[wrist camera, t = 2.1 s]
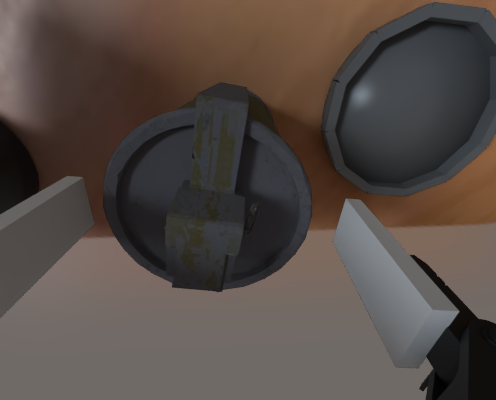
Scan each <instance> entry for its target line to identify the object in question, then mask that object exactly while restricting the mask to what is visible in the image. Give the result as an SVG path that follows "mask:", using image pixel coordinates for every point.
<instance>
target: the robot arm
mask: <svg viewBox="0 0 496 400" xmlns="http://www.w3.org/2000/svg"><path fill="white" fill-rule="evenodd" d="M93 225H94V221H93V216H92V212H91V208H90V204H89V199H88V195H87V191H86V187H85V182H84V178H83V177H75V176H66V177H64V178H63V179H61V180H59V181H57V182H56V183H54V184H52V185H50V186H49V187H47V188H45V189H43V190H42V191H40V192H38V176H37V172H36V169H35V166H34V163H33V161H32V159H31V157H30V155H29V154H28V152H27V150H26V149H25V147H24V146H23V145H22V143H21V142H20V141H19V140H18V138H17V137H16V136H15V135H14V134H13V133H12V132H11V131H10V130H9V129H8V128H7V127H6V126H5V125H3V124H2V123H1V122H0V318H1V317H2V316H3V315H4V314H5V313H6V312H7V311H8V310H9V309H10V308H11V307H12V306H13V305H14V304H15V303H16V302H17V301H18V300H19V299H20V298H21V297H22V296H23V295H24V294H25V293H26V292H27V291H28V290H29V289H30V288H31V287H32V286H33V285H34V284H35V283H36V282H37V281H38V280H39V279H40V278H41V277H42V276H43V275H44V274H45V273H46V272H47V271H48V270H49V269H50V268H51V267H52V266H53V265H54V264H55V263H56V262H57V261H58V260H59V259H60V258H61V257H62V256H63V255H64V254H65V253H66V252H67V251H68V250H69V249H70V248H71V247H72V246H73V245H74V244H75V243H76V242H77V241H78V240H79V239H80V238H81V237H82V236H83V235H84V234H85V233H86V232H87V231H88V230H89V229H90V228H91V227H92V226H93ZM333 244H334V246H335V248H336V250H337V252H338V254H339V256H340V258H341V260H342V262H343V264H344V266H345V268H346V270H347V272H348V274H349V276H350V278H351V280H352V282H353V284H354V286H355V288H356V290H357V292H358V293H359V296H360V298H361V300H362V301H363V304H364V306H365V307H366V309H367V312H368V313H369V316H370V318H371V320H372V322H373V323H374V326H375V328H376V329H377V331H378V334H379V335H380V337H381V339H382V341H383V343H384V345H385V347H386V349H387V351H388V353H389V355H390V357H391V359H392V361H393V363H394V365H395V367H398V368H399V367H400V368H419V367H420V365H421V364H422V363H423V361H424V360H425V358H426V357H427V359H428V360H429V362H430V363H431V365H432V366H433V368H434V369H433V370H432V371H431V373H430V374H429V375H428V377H427V378H426V379H425V380H424V382H423V383H422V384H421V386H420V390H422V391H424V390H425V388H426V387H428V388H427V395H426V400H496V324H495V323H492V322H490V321H487V320H482V319H478V318H477V317H476V316H475V315H474V314H473V313H472V312H471V311H470V309H469V308H468V307H467V306H466V305H465V304H464V303H463V302H462V301H461V300H460V299H459V298H458V297H457V295H456V294H455V293H454V292H453V291H452V290H451V289H450V288H449V287H448V286H446V285H445V283H444V282H443V281H442V279H441V278H440V277H437V275H436V273H435V272H434V271H433V270H432V269H431V268H430V267H429V266H428V265H427V264H426V263H425V262H423V261H422V260H420V259H419V258H417V257H416V256H415V255H409V254H408V253H407V252H406V251H405V249H404V248H403V247H402V246H401V245H400V244H399V243H398V242H397V240H396V239H395V238H394V237H393V236H392V235H391V234H390V232H389V231H388V230H387V229H386V228H385V227H384V226H383V225H382V223H381V222H380V221H379V220H378V219H377V218H376V217H375V216H374V214H373V213H372V212H371V211H370V210H369V209H368V208H367V207H366V205H365V204H364V203H363V202H362V201H361V200H358V199H346V200H345V203H344V206H343V209H342V213H341V216H340V219H339V222H338V226H337V229H336V232H335V236H334V238H333Z"/></svg>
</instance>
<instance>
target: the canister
mask: <svg viewBox="0 0 496 400" xmlns="http://www.w3.org/2000/svg"><path fill="white" fill-rule="evenodd" d="M103 207H104V211H105V214H106V218H107V221H108V223H109V225H110V227H111V229H112V231H113V233H114V235H115V237H116V238H117V240H118V242H119V243H120V244H121V246H122V247H123V249H124V250H125V251H126V252H127V253H128V254H129V255H130V256H131V257H132V258H133V259H134V260H135V261H136V262H137V263H138V264H139V265H141V266H142V267H144V268H145V269H147V270H148V271H150V272H151V273H153V274H154V275H157V276H159V277H161V278H163V279H165V280H167V281H169V282H172V287H174V288H186V289H197V290H208V291H216V292H222V290H225V289H231V288H238V287H244V286H247V285H250V284H252V283H255V282H257V281H259V280H262V279H265V278H266V277H268V276H270V275H271V274H273V273H274V272H276V271H277V270H279V269H281V268H282V267H283V266H284V265H285V264H286V263H287V262H288V261H289V260H290V259H291V258H292V257H293V256H294V255H295V254H296V252H297V250H298V249H299V247H300V246H301V244H302V243H303V241H304V240H305V238H306V235H307V231H308V228H309V224H310V221H311V217H312V193H311V186H310V183H309V180H308V177H307V175H306V173H305V170H304V168H303V166H302V164H301V161H300V160H299V158H298V157H297V155H296V154H295V153H294V151H293V150H292V149H291V147H290V146H289V145H288V144H287V143H286V142H285V141H284V140H283V139H282V138H281V137H280V135H279V133H278V131H277V130H276V128H275V126H274V122H273V119H272V116H271V114H270V112H269V110H268V108H267V107H266V105H265V104H264V103H263V102H262V101H261V100H260V99H259V98H258V97H257V96H256V95H254V94H253V93H251V92H250V91H248V90H247V87H242V86H237V85H232V84H226V83H221V82H220V83H218V84H216V85H214V86H212V87H210V88H208V89H206V90H204V91H202V92H200V93H198V94H197V97H196V98H195V99H194V100H193V101H191V102H189V103H187V104H186V105H184V106H182V107H181V108H179V109H177V110H174V111H170V112H166V113H162V114H160V115H158V116H156V117H154V118H152V119H150V120H148V121H146V122H145V123H143V124H141V125H139V126H138V127H137V128H136V129H134V130H133V131H132V132H131V133H130V134H128V135H127V136H126V137H125V138H124V139H123V140H122V142H121V143H120V145H119V146H118V148H117V149H116V151H115V152H114V154H113V155H112V157H111V158H110V160H109V164H108V167H107V171H106V175H105V178H104V197H103Z"/></svg>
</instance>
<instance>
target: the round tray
mask: <svg viewBox="0 0 496 400" xmlns="http://www.w3.org/2000/svg"><path fill="white" fill-rule="evenodd" d="M321 128H322V130H321V132H322V135H323V139H324V144H325V148H326V150H327V153H328V155H329V157H330V160H331V163H332V166H333V168H334V169H335V170H336V171H337V172H338V173H340V174H341V175H342V176H344V177H345V178H346V179H348V180H349V181H350V182H351V183H353V184H354V185H355V186H357V187H358V188H359V189H361V190H362V191H363V192H365V193H367V194H378V195H391V196H404V197H405V196H409V195H411V194H414V193H417V192H419V191H422V190H425V189H427V188H430V187H433V186H436V185H438V184H441V183H444V182H446V181H447V179H448V180H450V179H451V178H452V177H453V176H455V175H456V174H457V173H458V172H459V171H460V170H462V169H463V168H464V167H465V166H466V165H467V164H469V163H470V162H471V161H472V160H473V159H474V158H476V157H477V156H478V155H479V154H480V153H481V152H483V151H484V150H485V149H486V147H485V146H489V144H490V142H491V140H492V138H493V137H494V135H495V133H496V19H495V18H494V16H493V15H492V14H491V12H490V11H489V10H486V8H479V7H471V6H462V5H454V4H446V3H438V2H434V3H430V4H427V5H424V6H422V7H419V8H417V9H415V10H413V11H411V12H409V13H407V14H405V15H403V16H401V17H399V18H397V19H395V20H393V21H390V22H389V23H387V24H385V25H384V26H382V27H380V28H378V29H376V30H374V31H372V32H370V34H367V35H366V37H365V38H364V39H363V41H362V42H361V43H360V44H359V45H358V46H357V47H356V48H355V49H354V50H353V52H352V53H351V54H350V55H349V56H348V57H347V59H346V60H345V62H344V63H343V64H342V66H341V67H340V69H339V70H338V72H337V74H336V75H335V77H334V78H333V82H331V86H330V89H329V91H328V94H327V97H326V101H325V105H324V110H323V117H322V126H321Z"/></svg>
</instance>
